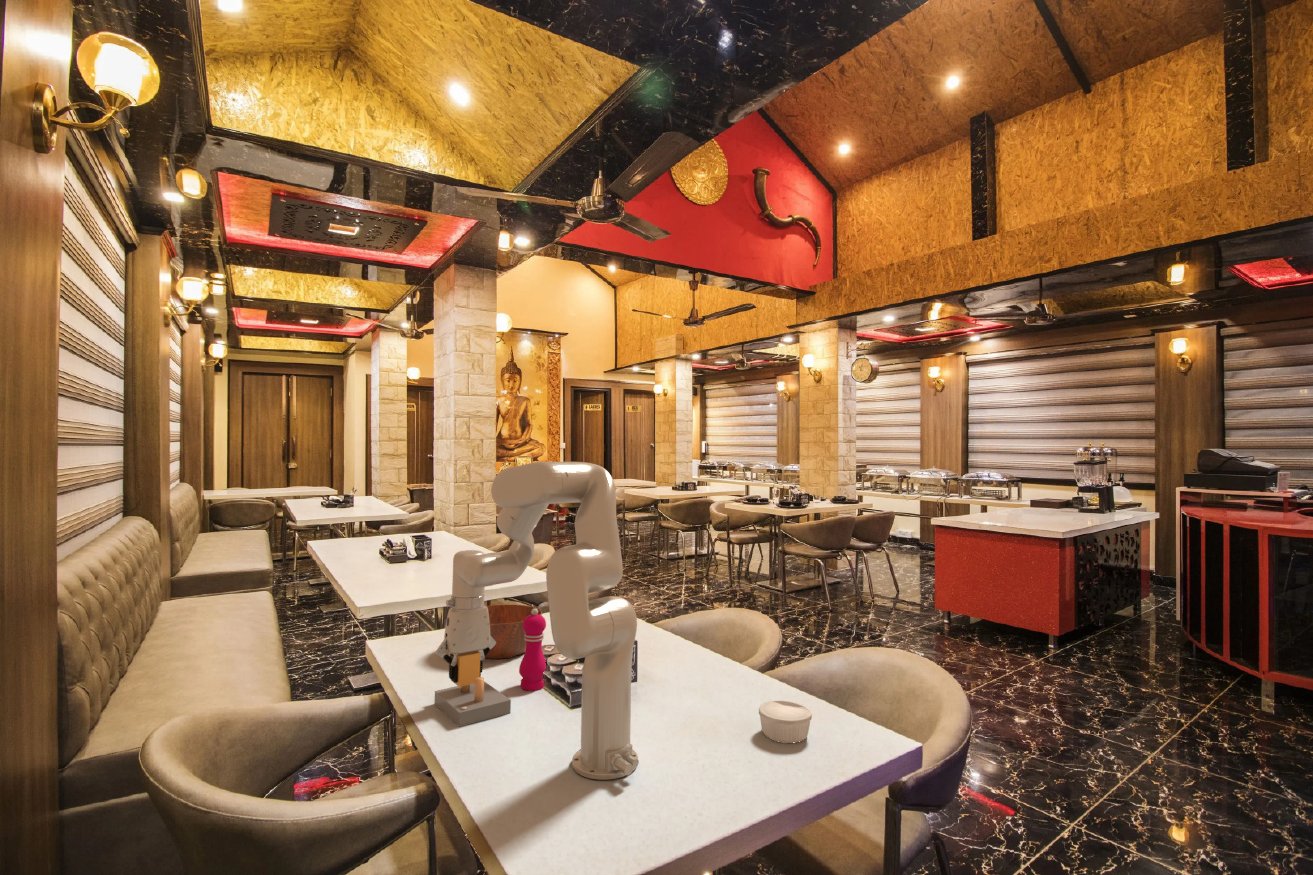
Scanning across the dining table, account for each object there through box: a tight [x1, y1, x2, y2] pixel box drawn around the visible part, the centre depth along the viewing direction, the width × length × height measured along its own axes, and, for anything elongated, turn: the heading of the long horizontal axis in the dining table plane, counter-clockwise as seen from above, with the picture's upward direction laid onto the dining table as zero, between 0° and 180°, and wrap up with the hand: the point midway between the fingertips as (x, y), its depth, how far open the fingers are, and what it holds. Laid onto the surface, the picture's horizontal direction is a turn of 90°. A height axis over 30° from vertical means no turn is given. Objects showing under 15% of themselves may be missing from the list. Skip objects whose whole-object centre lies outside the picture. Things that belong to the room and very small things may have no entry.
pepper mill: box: [518, 607, 547, 692], centre depth 155 cm, size 7×7×20 cm
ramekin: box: [758, 700, 813, 744], centre depth 128 cm, size 11×11×5 cm
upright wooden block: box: [450, 651, 480, 687], centre depth 143 cm, size 5×5×7 cm
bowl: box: [485, 604, 543, 660], centre depth 184 cm, size 25×25×11 cm
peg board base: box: [434, 676, 512, 728], centre depth 140 cm, size 16×12×8 cm
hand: (465, 677), depth 143 cm, fingers closed on upright wooden block, 4 cm apart
